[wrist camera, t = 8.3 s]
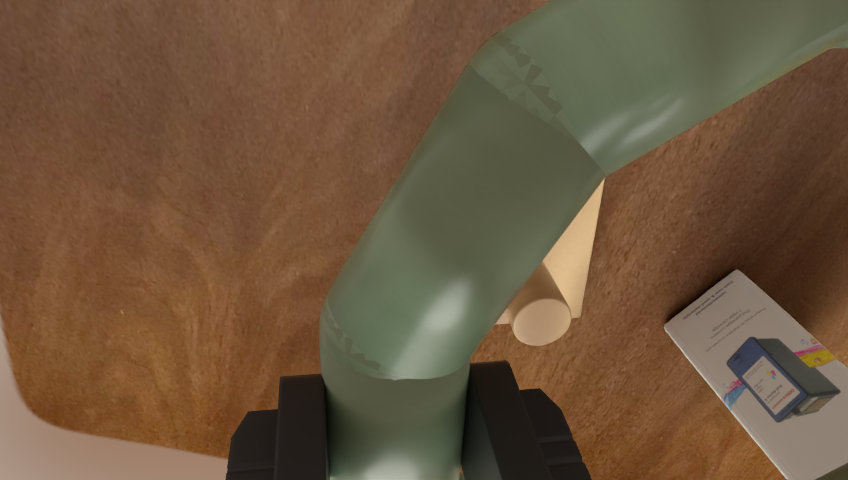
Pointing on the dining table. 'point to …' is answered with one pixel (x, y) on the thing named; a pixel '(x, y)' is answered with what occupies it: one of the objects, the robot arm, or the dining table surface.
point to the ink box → (768, 375)
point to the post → (556, 282)
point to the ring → (522, 197)
